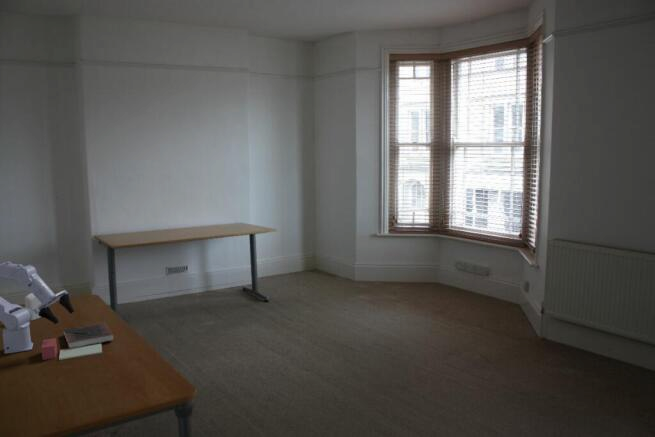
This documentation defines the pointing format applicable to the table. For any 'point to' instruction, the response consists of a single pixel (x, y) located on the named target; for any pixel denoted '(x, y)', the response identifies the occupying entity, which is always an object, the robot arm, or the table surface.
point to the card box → (49, 349)
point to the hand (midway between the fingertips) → (65, 317)
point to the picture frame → (87, 335)
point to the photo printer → (32, 305)
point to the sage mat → (80, 351)
